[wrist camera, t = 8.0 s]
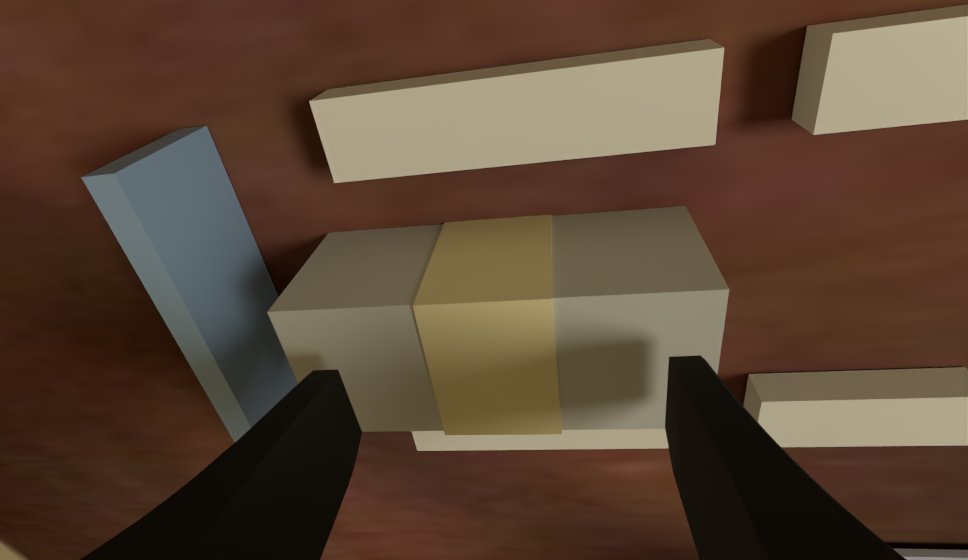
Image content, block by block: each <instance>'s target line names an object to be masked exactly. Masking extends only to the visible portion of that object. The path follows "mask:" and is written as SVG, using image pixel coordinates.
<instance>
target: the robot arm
mask: <svg viewBox="0 0 968 560" xmlns="http://www.w3.org/2000/svg"><path fill="white" fill-rule="evenodd" d="M665 430H666V436H667V441H668V447H669V452H670V458H671V463H672V468H673V473H674V477H675V480H676V483H677V487H678V490H679V493H680V497H681V500H682V503H683V507H684V510H685V513H686V517H687V520H688V523H689V526H690V530H691V533H692V536H693V539H694V543H695V546H696V549H697V552H698V556H699V559H700V560H968V550H958V549H905V548H891V547H890V546H889V545H888V544H887V543H885V542H884V541H883V540H882V539H880V538H879V537H878V536H877V535H876V534H874V533H873V532H872V531H871V530H870V529H868V528H867V527H866V526H865V525H864V524H862V523H861V522H860V521H859V520H858V519H857V518H856V517H854V516H853V515H852V514H851V513H850V512H849V511H847V510H846V509H845V508H844V507H843V506H842V505H841V504H839V503H838V502H837V501H836V500H835V499H834V498H833V497H832V496H831V495H830V494H828V493H827V492H826V491H825V490H824V489H823V488H822V487H821V486H820V485H819V484H818V483H817V482H816V481H815V480H813V479H812V478H811V477H810V476H809V475H808V474H807V473H806V472H805V471H804V470H803V469H802V468H801V467H800V466H799V465H798V464H797V463H796V462H795V461H794V460H793V459H792V458H791V457H790V456H789V455H788V454H787V453H786V452H785V451H784V450H783V449H782V448H781V447H780V446H779V445H778V444H777V443H776V441H775V440H774V439H773V438H772V437H771V436H770V435H769V434H768V433H767V432H766V431H765V430H764V428H763V427H762V426H761V425H760V424H759V423H758V422H757V421H756V420H755V419H754V418H753V417H752V415H751V414H750V413H749V412H748V411H747V410H746V409H745V407H744V406H743V405H742V404H741V403H740V402H739V400H738V399H737V398H736V397H735V396H734V395H733V393H732V392H731V391H730V390H729V389H728V387H727V386H726V385H725V384H724V383H723V381H722V380H721V379H720V378H719V376H718V375H717V374H716V372H715V371H714V370H713V369H712V367H711V366H710V365H709V364H708V362H707V361H706V360H705V359H704V358H703V357H702V356H701V355H699V356H673V357H669V366H668V382H667V399H666V416H665ZM361 434H362V430H361V428H360V425H359V422H358V420H357V417H356V415H355V412H354V409H353V407H352V404H351V402H350V399H349V396H348V394H347V391H346V389H345V386H344V383H343V381H342V378H341V376H340V373H339V370H338V369H336V370H313V371H312V372H311V373H310V374H308V375H307V376H306V377H305V378H304V379H303V380H302V381H301V382H299V383H298V384H297V385H296V386H295V387H294V388H293V389H292V390H291V391H290V392H289V393H288V394H287V395H286V396H285V397H283V398H282V399H281V400H280V401H279V402H278V403H277V404H276V405H275V406H274V407H273V408H272V409H271V410H270V411H269V412H268V413H266V414H265V415H264V416H263V417H262V418H261V419H260V420H259V421H258V422H257V423H256V424H255V425H254V426H252V427H251V428H250V429H249V430H248V431H247V432H246V433H245V434H244V435H243V436H242V437H241V438H240V439H238V440H237V441H236V442H235V443H234V444H233V445H232V446H230V447H229V448H228V449H227V450H226V451H225V452H223V453H222V454H221V455H220V456H219V457H218V458H217V459H215V460H214V461H213V462H212V463H211V464H210V465H208V466H207V467H206V468H205V469H204V470H203V471H202V472H200V473H199V474H198V475H197V476H196V477H194V478H193V479H192V480H191V481H190V482H188V483H187V484H186V485H185V486H183V487H182V488H181V489H180V490H178V491H177V492H176V493H174V494H173V495H172V496H171V497H169V498H168V499H167V500H165V501H164V502H163V503H161V504H160V505H159V506H157V507H156V508H155V509H153V510H152V511H151V512H149V513H148V514H147V515H145V516H144V517H142V518H141V519H140V520H138V521H137V522H135V523H134V524H133V525H131V526H130V527H128V528H127V529H125V530H124V531H122V532H121V533H119V534H118V535H116V536H115V537H113V538H112V539H110V540H109V541H107V542H106V543H104V544H103V545H101V546H100V547H99V548H97V549H96V550H94V551H93V552H91V553H90V554H88V555H87V556H85V557H84V558H82V559H81V560H320V558H321V556H322V553H323V550H324V548H325V545H326V543H327V540H328V537H329V535H330V532H331V529H332V527H333V524H334V522H335V519H336V516H337V514H338V511H339V508H340V506H341V503H342V500H343V498H344V495H345V492H346V490H347V487H348V484H349V481H350V479H351V476H352V472H353V469H354V465H355V461H356V457H357V452H358V448H359V443H360V439H361Z"/></svg>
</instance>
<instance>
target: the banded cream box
mask: <svg viewBox="0 0 968 560" xmlns="http://www.w3.org/2000/svg"><path fill="white" fill-rule="evenodd" d="M728 294H729V288H728V286H727V284H726V282H725V280H724V279H723V277H722V275H721V273H720V271H719V269H718V267H717V265H716V263H715V261H714V260H713V258H712V256H711V254H710V252H709V250H708V248H707V246H706V244H705V242H704V241H703V239H702V237H701V235H700V233H699V231H698V229H697V227H696V225H695V223H694V222H693V220H692V218H691V216H690V214H689V212H688V210H687V208H686V206H680V207H667V208H653V209H640V210H627V211H613V212H600V213H587V214H573V215H560V216H551V215H538V216H525V217H511V218H498V219H485V220H472V221H458V222H445V223H444V224H440V225H427V226H413V227H400V228H387V229H373V230H360V231H347V232H333V233H328V234H327V236H326V237H325V238H324V240H323V241H322V242H321V243H320V245H319V246H318V247H317V249H316V250H315V251H314V252H313V254H312V255H311V256H310V258H309V259H308V260H307V261H306V263H305V264H304V265H303V267H302V268H301V269H300V270H299V272H298V273H297V274H296V276H295V277H294V278H293V279H292V281H291V282H290V283H289V285H288V286H287V287H286V288H285V290H284V291H283V292H282V294H281V295H280V296H279V297H278V299H277V300H276V301H275V303H274V304H273V305H272V307H271V308H270V309H269V310H268V312H267V313H268V315H269V317H270V320H271V322H272V324H273V327H274V329H275V331H276V333H277V336H278V338H279V340H280V343H281V345H282V347H283V350H284V352H285V354H286V357H287V359H288V361H289V363H290V366H291V368H292V370H293V373H294V375H295V377H296V380H297V382H298V383H299V382H301V381H302V380H303V379H304V378H305V377H306V376H307V375H308V374H310V373H311V372H312V371H313V370H336V369H338V370H339V373H340V376H341V378H342V381H343V383H344V386H345V389H346V391H347V394H348V396H349V399H350V402H351V404H352V407H353V409H354V412H355V415H356V417H357V420H358V422H359V425H360V428H361V430H362V432H365V431H444V433H445V435H541V434H562V430H602V429H665V416H666V399H667V382H668V366H669V357H673V356H699V355H701V356H702V357H703V358H704V359H705V360H706V361H707V362H708V364H709V365H710V366H711V367H712V369H713V370H714V371H715V372H716V374H717V373H718V366H719V359H720V352H721V345H722V337H723V330H724V323H725V316H726V309H727V302H728Z"/></svg>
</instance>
